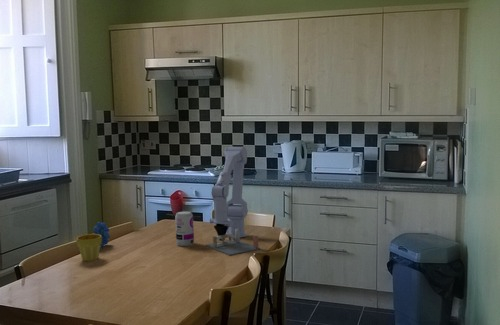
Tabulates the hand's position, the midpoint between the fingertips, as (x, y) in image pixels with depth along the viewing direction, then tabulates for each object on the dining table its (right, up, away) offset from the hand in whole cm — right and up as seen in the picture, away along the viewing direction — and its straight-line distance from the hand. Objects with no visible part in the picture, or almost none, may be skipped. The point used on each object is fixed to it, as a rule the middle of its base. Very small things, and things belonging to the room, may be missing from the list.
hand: (222, 240), depth 239 cm
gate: (+1, -2, -2) cm, 3 cm away
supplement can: (-17, -3, +5) cm, 18 cm away
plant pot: (-56, -6, -15) cm, 58 cm away
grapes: (-56, -4, +5) cm, 56 cm away
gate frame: (+5, -3, -4) cm, 7 cm away
